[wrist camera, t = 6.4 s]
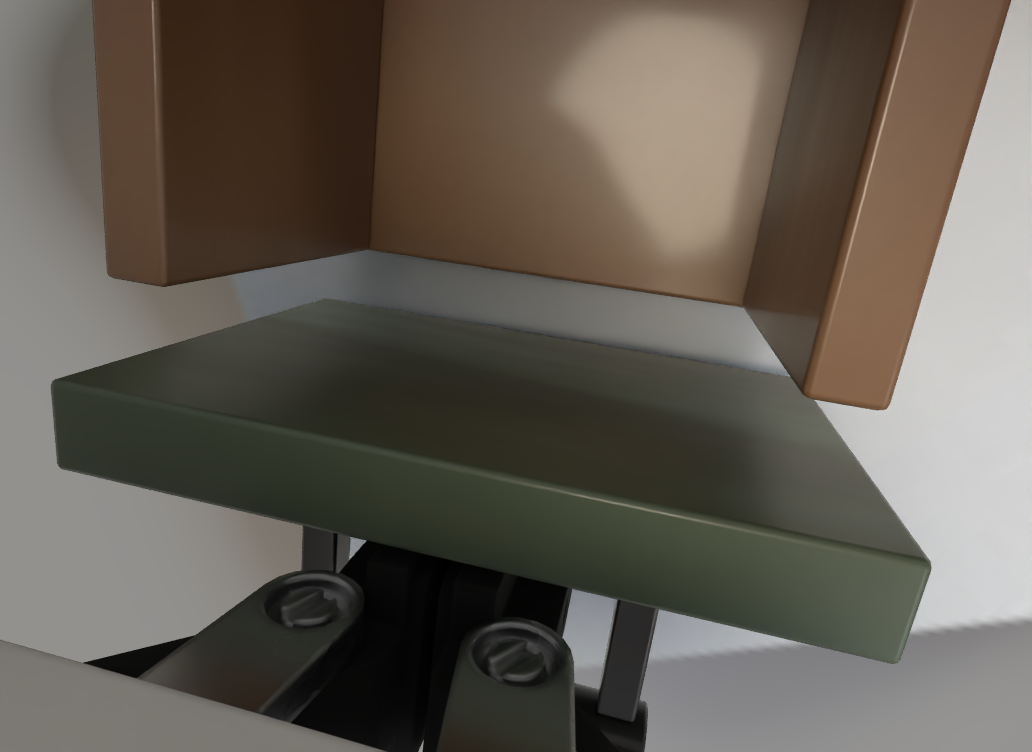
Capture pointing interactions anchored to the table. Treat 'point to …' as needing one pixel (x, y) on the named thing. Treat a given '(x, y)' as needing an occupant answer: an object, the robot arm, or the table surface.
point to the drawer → (548, 253)
